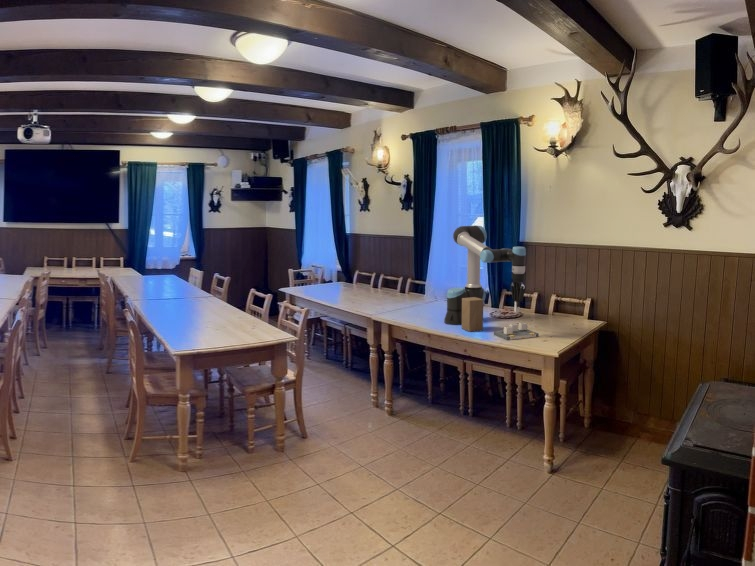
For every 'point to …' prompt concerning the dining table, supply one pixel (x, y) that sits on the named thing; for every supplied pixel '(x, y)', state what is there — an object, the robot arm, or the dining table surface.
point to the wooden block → (472, 314)
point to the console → (516, 334)
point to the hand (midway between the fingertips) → (517, 312)
